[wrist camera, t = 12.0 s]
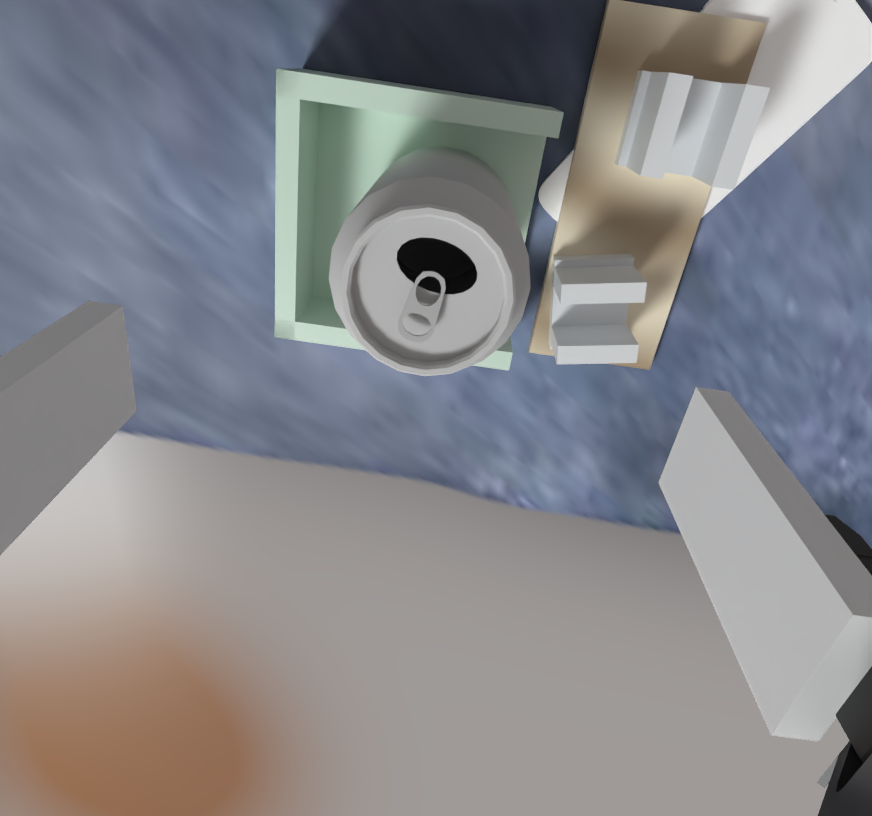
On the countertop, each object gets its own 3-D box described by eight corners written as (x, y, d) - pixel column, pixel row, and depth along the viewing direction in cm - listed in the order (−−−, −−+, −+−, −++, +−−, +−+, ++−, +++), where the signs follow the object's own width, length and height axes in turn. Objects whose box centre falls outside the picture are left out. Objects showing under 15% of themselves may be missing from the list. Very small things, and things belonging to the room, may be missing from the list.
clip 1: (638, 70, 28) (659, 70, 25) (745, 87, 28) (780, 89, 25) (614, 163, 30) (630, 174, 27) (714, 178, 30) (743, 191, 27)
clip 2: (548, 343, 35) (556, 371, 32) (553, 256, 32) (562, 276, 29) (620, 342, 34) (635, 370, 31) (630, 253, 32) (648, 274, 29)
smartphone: (530, 195, 31) (792, -89, 25) (529, 192, 32) (784, -85, 26) (625, 288, 33) (889, 47, 27) (622, 284, 34) (879, 47, 28)
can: (537, 177, 30) (573, 234, 20) (480, 311, 34) (485, 420, 23) (393, 119, 29) (352, 148, 19) (351, 263, 33) (296, 355, 22)
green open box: (302, 68, 29) (276, 68, 25) (551, 106, 29) (563, 112, 25) (296, 306, 35) (274, 337, 31) (504, 336, 35) (508, 370, 31)
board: (607, -1, 27) (609, -2, 27) (761, 23, 27) (766, 23, 27) (528, 348, 36) (529, 352, 35) (647, 365, 36) (649, 369, 35)
